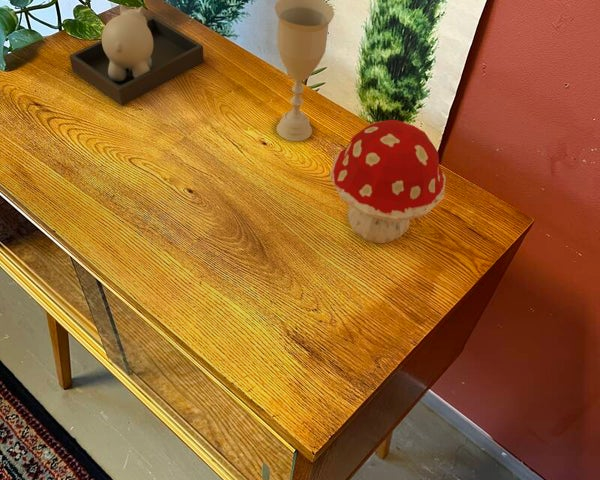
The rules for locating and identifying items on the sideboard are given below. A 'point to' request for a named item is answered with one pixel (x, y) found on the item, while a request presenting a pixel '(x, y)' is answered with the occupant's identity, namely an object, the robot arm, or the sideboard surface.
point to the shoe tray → (165, 65)
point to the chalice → (300, 54)
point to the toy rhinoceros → (128, 44)
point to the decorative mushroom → (388, 179)
